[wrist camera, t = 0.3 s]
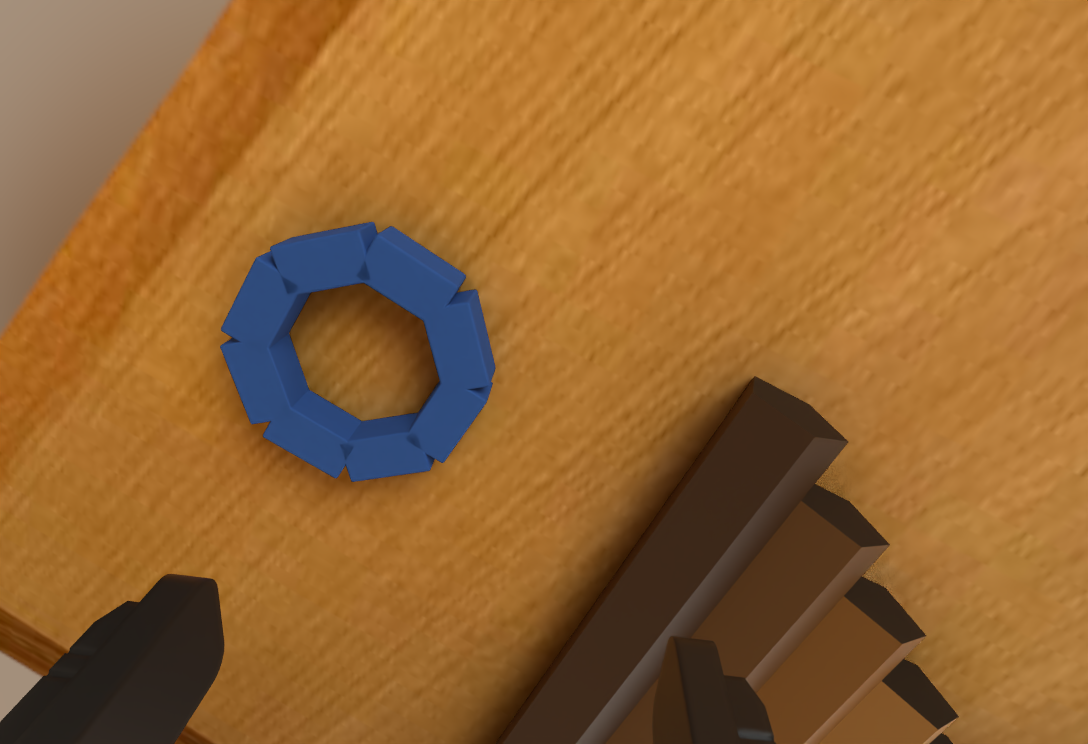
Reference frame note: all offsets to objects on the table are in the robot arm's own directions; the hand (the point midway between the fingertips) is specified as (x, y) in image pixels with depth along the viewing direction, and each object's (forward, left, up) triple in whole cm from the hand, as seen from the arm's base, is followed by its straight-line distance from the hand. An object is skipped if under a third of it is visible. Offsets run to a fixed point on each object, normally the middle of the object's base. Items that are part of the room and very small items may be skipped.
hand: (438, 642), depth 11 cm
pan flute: (+15, +15, -12) cm, 24 cm away
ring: (-1, -5, -12) cm, 13 cm away
